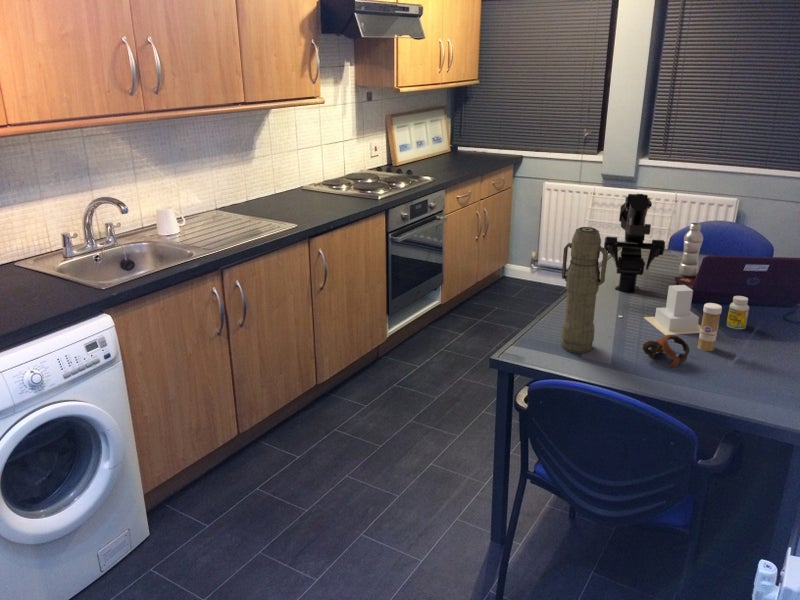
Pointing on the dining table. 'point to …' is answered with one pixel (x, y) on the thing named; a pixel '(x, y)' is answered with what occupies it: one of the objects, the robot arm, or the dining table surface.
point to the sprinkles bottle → (709, 326)
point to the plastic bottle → (691, 250)
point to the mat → (666, 332)
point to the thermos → (582, 288)
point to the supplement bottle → (738, 313)
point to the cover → (677, 310)
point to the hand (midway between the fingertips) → (631, 268)
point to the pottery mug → (667, 349)
